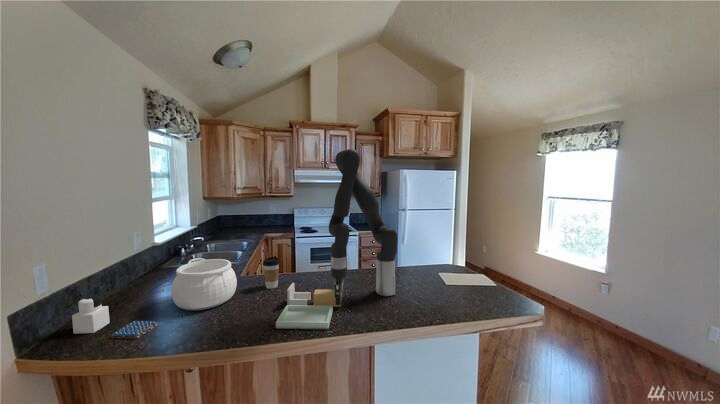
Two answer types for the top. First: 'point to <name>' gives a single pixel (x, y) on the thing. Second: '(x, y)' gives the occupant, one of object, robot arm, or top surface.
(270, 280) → the coffee cup
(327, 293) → the box with top handle
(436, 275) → the top surface
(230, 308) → the top surface
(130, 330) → the woven mat
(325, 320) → the tray
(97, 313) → the white knobbed block
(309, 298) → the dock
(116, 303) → the top surface
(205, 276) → the pot
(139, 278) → the top surface
